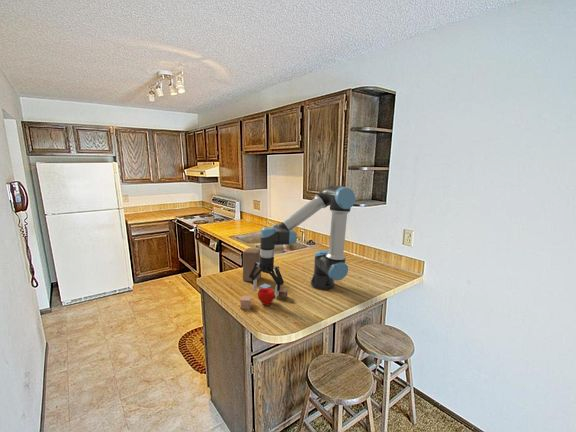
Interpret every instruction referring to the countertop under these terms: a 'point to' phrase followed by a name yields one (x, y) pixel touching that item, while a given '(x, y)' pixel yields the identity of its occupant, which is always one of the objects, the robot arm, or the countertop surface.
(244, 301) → the terracotta cube
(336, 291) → the countertop surface
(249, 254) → the wooden block
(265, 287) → the slate-blue cube
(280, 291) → the walnut cube
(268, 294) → the apple
